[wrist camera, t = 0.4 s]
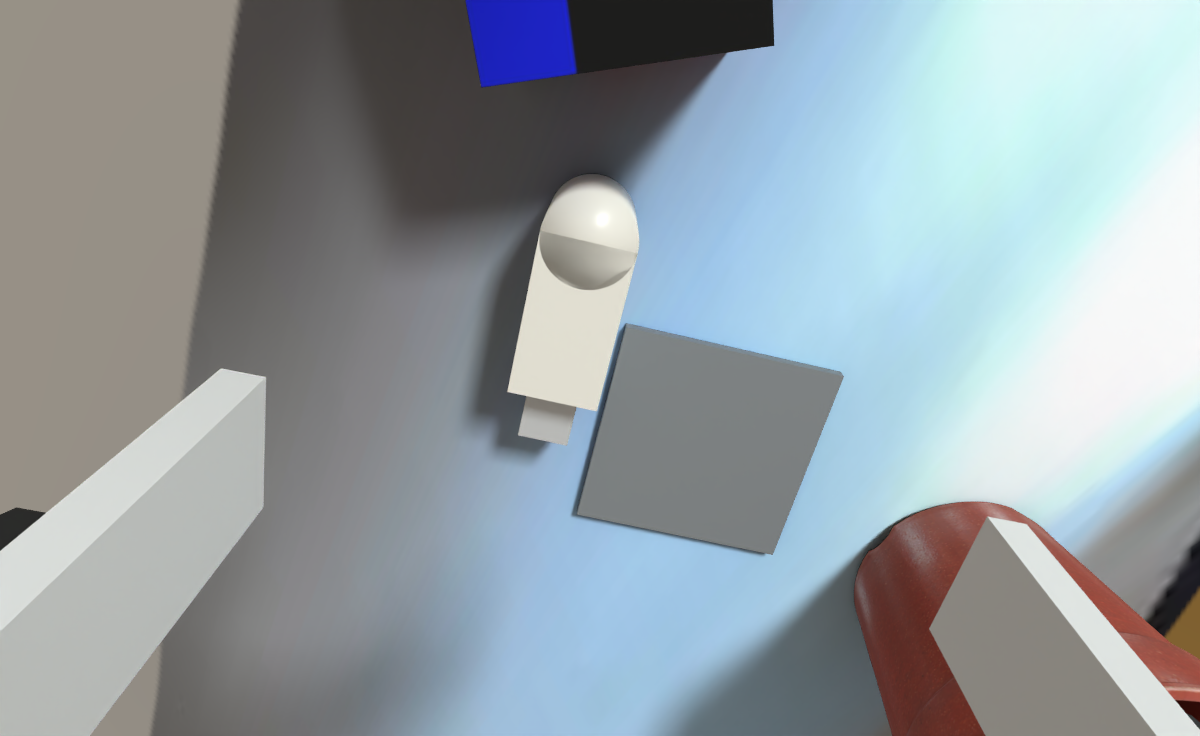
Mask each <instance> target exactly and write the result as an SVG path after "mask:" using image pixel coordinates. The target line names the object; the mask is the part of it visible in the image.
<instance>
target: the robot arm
mask: <svg viewBox="0 0 1200 736" xmlns="http://www.w3.org/2000/svg"><path fill="white" fill-rule="evenodd" d="M265 402H266V377H263V376H258V375H252V374H247V373H242V372H237V371H232V370H226V369H220V370H219V371H217V372H216V373H215V374H214V375H213V376H211V377H210V378H209V379H208V380H206V381H205V382H204V383H203V384H202V385H200V386H199V387H198V388H197V389H196V390H194V391H193V392H192V393H191V394H190V395H188V396H187V397H186V398H185V399H183V400H182V401H181V402H180V403H179V404H177V405H176V406H175V407H174V408H173V409H171V410H170V411H169V412H168V413H167V414H165V415H164V416H163V417H162V418H160V419H159V420H158V421H157V422H156V423H154V424H153V425H152V426H151V427H150V428H148V429H147V430H146V431H145V432H144V433H142V434H141V435H140V436H139V437H138V438H136V439H135V440H134V441H133V442H131V443H130V444H129V445H128V446H127V447H125V448H124V449H123V450H122V451H121V452H119V453H118V454H117V455H116V456H115V457H113V458H112V459H111V460H110V461H108V462H107V463H106V464H105V465H104V466H102V467H101V468H100V469H99V470H98V471H97V472H95V473H94V474H93V475H92V476H90V477H89V478H88V479H87V480H85V481H84V482H83V483H82V484H81V485H79V486H78V487H77V488H76V489H75V490H73V491H72V492H71V493H70V494H69V495H68V496H66V497H65V498H64V499H63V500H61V501H60V502H59V503H58V504H56V505H55V506H54V507H53V508H52V509H50V510H49V511H48V512H47V513H44V512H38V511H33V510H27V509H21V508H15V509H12V510H10V511H8V512H5V513H3V514H1V515H0V736H90V735H91V734H92V732H93V731H94V730H95V728H96V727H97V726H98V724H99V723H100V722H101V720H102V719H103V718H104V716H105V715H106V714H107V712H108V711H109V710H110V709H111V707H112V706H113V704H114V703H115V702H116V701H117V699H118V698H119V697H120V695H121V694H122V693H123V691H124V690H125V689H126V687H127V686H128V685H129V684H130V682H131V681H132V679H133V678H134V677H135V676H136V674H137V673H138V672H139V670H140V669H141V668H142V666H143V665H144V664H145V662H146V661H147V660H148V659H149V657H150V656H151V655H152V653H153V652H154V651H155V649H156V648H157V647H158V645H159V644H160V643H161V641H162V640H163V639H164V637H165V636H166V635H167V634H168V632H169V631H170V630H171V628H172V627H173V626H174V624H175V623H176V622H177V620H178V619H179V618H180V616H181V615H182V614H183V612H184V611H185V610H186V609H187V607H188V606H189V605H190V603H191V602H192V601H193V599H194V598H195V597H196V595H197V594H198V593H199V591H200V590H201V589H202V587H203V586H204V585H205V584H206V582H207V581H208V580H209V578H210V577H211V576H212V574H213V573H214V572H215V570H216V569H217V568H218V566H219V565H220V564H221V562H222V561H223V560H224V559H225V557H226V556H227V555H228V553H229V552H230V551H231V549H232V548H233V547H234V545H235V544H236V543H237V541H238V540H239V539H240V537H241V536H242V535H243V534H244V532H245V531H246V530H247V528H248V527H249V526H250V524H251V523H252V522H253V520H254V519H255V518H256V516H257V515H258V514H259V512H260V511H261V510H262V509H263V494H264V448H265ZM929 630H930V631H931V633H932V635H933V637H934V639H935V641H936V643H937V645H938V647H939V649H940V650H941V652H942V654H943V656H944V658H945V660H946V662H947V664H948V666H949V667H950V669H951V671H952V673H953V675H954V677H955V679H956V681H957V683H958V685H959V686H960V688H961V690H962V692H963V694H964V696H965V698H966V700H967V702H968V704H969V705H970V707H971V709H972V711H973V713H974V715H975V717H976V719H977V721H978V723H979V724H980V726H981V728H982V730H983V732H984V734H985V736H1200V722H1199V721H1198V720H1196V719H1195V718H1194V717H1193V716H1192V715H1189V714H1186V713H1185V712H1184V710H1183V709H1182V708H1181V707H1180V706H1179V705H1178V703H1177V702H1176V701H1175V700H1174V699H1173V697H1172V696H1171V695H1170V694H1169V693H1168V691H1167V690H1166V689H1165V688H1164V687H1163V686H1162V684H1161V683H1160V682H1159V681H1158V680H1157V678H1156V677H1155V676H1154V675H1153V674H1152V672H1151V671H1150V670H1149V669H1148V668H1147V667H1146V665H1145V664H1144V663H1143V662H1142V661H1141V659H1140V658H1139V657H1138V656H1137V655H1136V653H1135V652H1134V651H1133V650H1132V649H1131V648H1130V646H1129V645H1128V644H1127V643H1126V642H1125V640H1124V639H1123V638H1122V637H1121V636H1120V634H1119V633H1118V632H1117V631H1116V630H1115V629H1114V627H1113V626H1112V625H1111V624H1110V623H1109V621H1108V620H1107V619H1106V618H1105V617H1104V615H1103V614H1102V613H1101V612H1100V611H1099V610H1098V608H1097V607H1096V606H1095V605H1094V604H1093V602H1092V601H1091V600H1090V599H1089V598H1088V596H1087V595H1086V594H1085V593H1084V592H1083V591H1082V589H1081V588H1080V587H1079V586H1078V585H1077V583H1076V582H1075V581H1074V580H1073V579H1072V577H1071V576H1070V575H1069V574H1068V573H1067V572H1066V570H1065V569H1064V568H1063V567H1062V566H1061V564H1060V563H1059V562H1058V561H1057V560H1056V558H1055V557H1054V556H1053V555H1052V554H1051V553H1050V551H1049V550H1048V549H1047V548H1046V547H1045V545H1044V544H1043V543H1042V542H1041V541H1040V539H1039V538H1038V537H1037V536H1036V535H1035V534H1034V532H1033V531H1032V530H1031V529H1030V528H1029V526H1028V525H1027V524H1024V523H1018V522H1013V521H1008V520H1003V519H998V518H993V517H987V518H986V520H985V522H984V524H983V525H982V527H981V529H980V531H979V533H978V535H977V537H976V539H975V541H974V543H973V545H972V547H971V549H970V551H969V553H968V555H967V556H966V558H965V560H964V562H963V564H962V566H961V568H960V570H959V572H958V574H957V576H956V578H955V580H954V582H953V584H952V586H951V587H950V589H949V591H948V593H947V595H946V597H945V599H944V601H943V603H942V605H941V607H940V609H939V611H938V613H937V615H936V617H935V618H934V620H933V622H932V624H931V626H930V628H929Z"/></svg>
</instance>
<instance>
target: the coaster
mask: <svg viewBox="0 0 1200 736" xmlns="http://www.w3.org/2000/svg"><path fill="white" fill-rule="evenodd" d="M843 377H844V376H843V375H842V373H841V372H839V371H834V370H830V369H825V368H821V367H816V366H812V365H808V364H803V363H799V362H794V361H790V360H786V359H781V358H777V357H772V356H768V355H764V354H759V353H755V352H750V351H746V350H742V349H737V348H733V347H728V346H724V345H720V344H715V343H711V342H706V341H702V340H697V339H693V338H689V337H684V336H680V335H675V334H671V333H667V332H662V331H658V330H653V329H649V328H645V327H640V326H636V325H631V324H627V323H626V326H625V330H624V334H623V337H622V341H621V345H620V349H619V353H618V357H617V360H616V364H615V368H614V372H613V376H612V379H611V383H610V387H609V391H608V395H607V398H606V402H605V406H604V410H603V414H602V417H601V421H600V425H599V429H598V433H597V436H596V440H595V444H594V448H593V452H592V456H591V459H590V463H589V467H588V471H587V475H586V478H585V482H584V486H583V490H582V494H581V497H580V501H579V505H578V509H577V515H582V516H587V517H592V518H597V519H602V520H606V521H611V522H616V523H621V524H626V525H631V526H636V527H640V528H645V529H650V530H655V531H660V532H665V533H669V534H674V535H679V536H684V537H689V538H694V539H699V540H703V541H708V542H713V543H718V544H723V545H728V546H733V547H737V548H742V549H747V550H752V551H757V552H762V553H767V554H771V555H773V553H774V550H775V548H776V545H777V543H778V540H779V538H780V535H781V532H782V530H783V527H784V525H785V522H786V520H787V517H788V515H789V512H790V510H791V507H792V505H793V502H794V500H795V497H796V495H797V492H798V490H799V487H800V485H801V482H802V480H803V477H804V475H805V472H806V470H807V467H808V465H809V462H810V460H811V457H812V455H813V452H814V450H815V447H816V445H817V442H818V440H819V437H820V435H821V432H822V430H823V427H824V425H825V422H826V420H827V417H828V415H829V412H830V410H831V407H832V405H833V402H834V400H835V397H836V395H837V392H838V390H839V387H840V385H841V382H842V380H843Z"/></svg>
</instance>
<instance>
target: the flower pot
mask: <svg viewBox="0 0 1200 736" xmlns="http://www.w3.org/2000/svg"><path fill="white" fill-rule="evenodd" d="M987 517H993V518H998V519H1003V520H1008V521H1013V522H1018V523H1024V524H1027V525H1028V526H1029V528H1030V529H1031V530H1032V531H1033V532H1034V534H1035V535H1036V536H1037V537H1038V538H1039V539H1040V541H1041V542H1042V543H1043V544H1044V545H1045V547H1046V548H1047V549H1048V550H1049V551H1050V553H1051V554H1052V555H1053V556H1054V557H1055V558H1056V560H1057V561H1058V562H1059V563H1060V564H1061V566H1062V567H1063V568H1064V569H1065V570H1066V572H1067V573H1068V574H1069V575H1070V576H1071V577H1072V579H1073V580H1074V581H1075V582H1076V583H1077V585H1078V586H1079V587H1080V588H1081V589H1082V591H1083V592H1084V593H1085V594H1086V595H1087V596H1088V598H1089V599H1090V600H1091V601H1092V602H1093V604H1094V605H1095V606H1096V607H1097V608H1098V610H1099V611H1100V612H1101V613H1102V614H1103V615H1104V617H1105V618H1106V619H1107V620H1108V621H1109V623H1110V624H1111V625H1112V626H1113V627H1114V629H1115V630H1116V631H1117V632H1118V633H1119V634H1120V636H1121V637H1122V638H1123V639H1124V640H1125V642H1126V643H1127V644H1128V645H1129V646H1130V648H1131V649H1132V650H1133V651H1134V652H1135V653H1136V655H1137V656H1138V657H1139V658H1140V659H1141V661H1142V662H1143V663H1144V664H1145V665H1146V667H1147V668H1148V669H1149V670H1150V671H1151V672H1152V674H1153V675H1154V676H1155V677H1156V678H1157V680H1158V681H1159V682H1160V683H1161V684H1162V686H1163V687H1164V688H1165V689H1166V690H1167V691H1168V693H1169V694H1170V695H1171V696H1172V697H1173V699H1174V700H1175V701H1176V702H1177V703H1178V705H1179V706H1180V707H1181V708H1182V709H1183V710H1184V712H1185V713H1186V714H1189V715H1192V716H1193V717H1194V718H1195V719H1196V720H1198V721H1199V722H1200V660H1199V659H1198V658H1196V657H1194V656H1193V655H1192V654H1190V653H1188V652H1186V651H1184V650H1183V649H1181V648H1179V647H1177V646H1175V645H1172V644H1171V643H1170V642H1169V641H1168V640H1166V639H1165V638H1164V637H1163V636H1162V635H1161V634H1160V633H1159V632H1157V631H1156V630H1155V629H1154V628H1153V627H1152V626H1151V625H1149V624H1148V623H1147V622H1146V621H1145V620H1144V619H1143V618H1142V617H1141V616H1139V615H1138V614H1137V613H1136V612H1135V611H1134V610H1133V609H1132V608H1130V607H1129V606H1128V605H1127V604H1126V603H1125V602H1124V601H1123V600H1122V599H1120V598H1119V597H1118V596H1117V595H1116V594H1115V593H1114V592H1113V591H1112V590H1110V589H1109V588H1108V587H1107V586H1106V585H1105V584H1104V583H1103V582H1102V581H1100V580H1099V579H1098V578H1097V577H1096V576H1095V575H1094V574H1093V573H1092V572H1090V571H1089V570H1088V569H1087V568H1086V567H1085V566H1084V565H1083V564H1081V563H1080V562H1079V561H1078V560H1077V559H1076V558H1075V557H1074V556H1073V555H1071V554H1070V553H1069V552H1068V551H1067V550H1066V549H1065V548H1064V547H1062V546H1061V545H1060V544H1059V543H1058V542H1057V541H1056V540H1055V539H1054V538H1053V537H1051V536H1050V535H1049V534H1048V533H1047V532H1046V531H1045V530H1044V529H1043V528H1042V527H1040V526H1039V525H1038V524H1037V523H1035V522H1034V521H1032V520H1031V519H1029V518H1027V517H1026V516H1024V515H1022V514H1021V513H1019V512H1017V511H1016V510H1014V509H1012V508H1010V507H1007V506H1003V505H999V504H995V503H988V502H958V503H951V504H945V505H940V506H936V507H933V508H930V509H927V510H924V511H921V512H919V513H916V514H914V515H912V516H910V517H908V518H906V519H904V520H903V521H901V522H900V523H898V524H896V525H895V526H893V528H892V529H891V531H890V533H889V535H888V536H887V537H886V539H885V540H884V541H883V542H882V543H881V544H880V545H879V546H878V547H876V548H875V549H873V550H870V551H868V553H867V554H866V556H865V557H864V559H863V561H862V563H861V565H860V567H859V570H858V573H857V576H856V580H855V586H854V602H855V608H856V612H857V616H858V619H859V622H860V625H861V629H862V632H863V636H864V639H865V643H866V646H867V650H868V653H869V656H870V660H871V663H872V667H873V670H874V673H875V677H876V680H877V683H878V687H879V690H880V694H881V697H882V701H883V704H884V708H885V711H886V715H887V718H888V722H889V725H890V729H891V732H892V736H985V734H984V732H983V730H982V728H981V726H980V724H979V723H978V721H977V719H976V717H975V715H974V713H973V711H972V709H971V707H970V705H969V704H968V702H967V700H966V698H965V696H964V694H963V692H962V690H961V688H960V686H959V685H958V683H957V681H956V679H955V677H954V675H953V673H952V671H951V669H950V667H949V666H948V664H947V662H946V660H945V658H944V656H943V654H942V652H941V650H940V649H939V647H938V645H937V643H936V641H935V639H934V637H933V635H932V633H931V631H930V630H929V628H930V626H931V624H932V622H933V620H934V618H935V617H936V615H937V613H938V611H939V609H940V607H941V605H942V603H943V601H944V599H945V597H946V595H947V593H948V591H949V589H950V587H951V586H952V584H953V582H954V580H955V578H956V576H957V574H958V572H959V570H960V568H961V566H962V564H963V562H964V560H965V558H966V556H967V555H968V553H969V551H970V549H971V547H972V545H973V543H974V541H975V539H976V537H977V535H978V533H979V531H980V529H981V527H982V525H983V524H984V522H985V520H986V518H987Z"/></svg>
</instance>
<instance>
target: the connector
mask: <svg viewBox="0 0 1200 736" xmlns="http://www.w3.org/2000/svg"><path fill="white" fill-rule="evenodd" d="M638 249H639V233H638V226H637V218H636V211H635V207H634V204H633V201H632V199H631V197H630V195H629V194H628V192H627V191H626V190H625V188H624V187H623V186H622V185H620V184H619V183H618V182H617V181H615V180H613V179H611V178H609V177H607V176H604V175H599V174H585V175H580V176H577V177H575V178H572V179H571V180H569V181H567V182H566V183H565V184H563V185H562V186H561V187H560V188H559V190H558V191H557V192H556V194H555V195H554V197H553V199H552V201H551V204H550V206H549V208H548V211H547V213H546V215H545V218H544V220H543V222H542V225H541V229H540V233H539V238H538V243H537V248H536V253H535V258H534V263H533V268H532V273H531V277H530V282H529V287H528V292H527V297H526V302H525V307H524V312H523V317H522V322H521V327H520V332H519V337H518V342H517V347H516V352H515V356H514V361H513V366H512V371H511V376H510V381H509V386H508V391H507V392H510V393H515V394H520V395H524V396H526V400H525V405H524V410H523V414H522V419H521V424H520V428H519V433H518V435H520V436H524V437H529V438H534V439H538V440H543V441H548V442H552V443H557V444H562V445H567V443H568V439H569V435H570V431H571V427H572V423H573V419H574V415H575V411H576V407H579V408H584V409H589V410H593V411H597V408H598V404H599V401H600V397H601V393H602V389H603V385H604V381H605V377H606V374H607V370H608V366H609V362H610V358H611V354H612V350H613V347H614V343H615V339H616V335H617V331H618V327H619V323H620V319H621V316H622V312H623V308H624V304H625V300H626V296H627V292H628V289H629V285H630V281H631V277H632V273H633V269H634V265H635V262H636V258H637V254H638Z"/></svg>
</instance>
